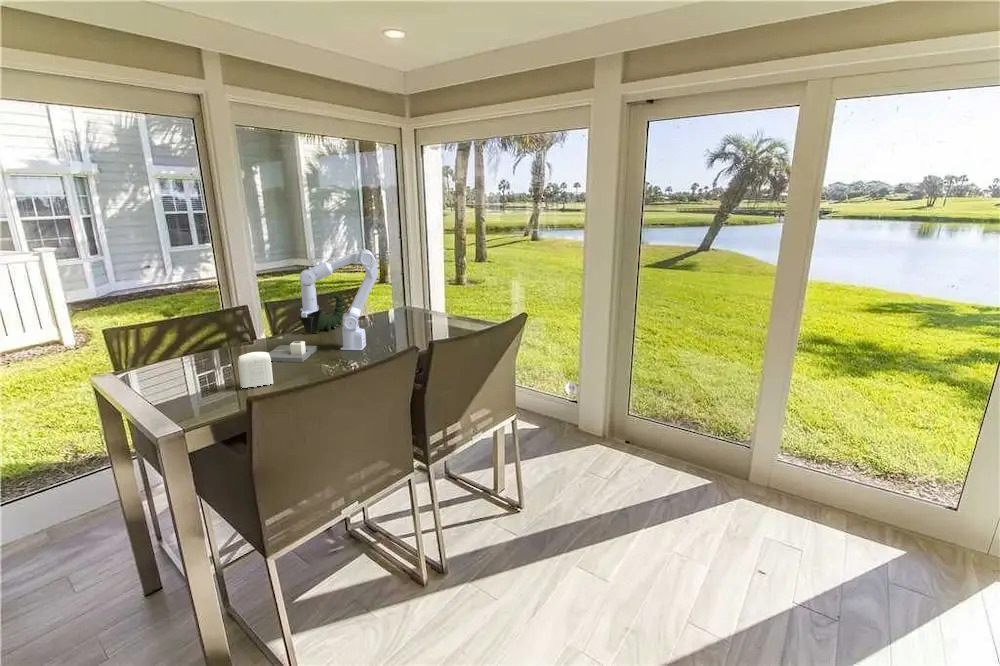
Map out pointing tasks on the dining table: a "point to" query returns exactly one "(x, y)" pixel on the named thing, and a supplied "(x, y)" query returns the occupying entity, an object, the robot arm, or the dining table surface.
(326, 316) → the toy figurine
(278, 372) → the dining table surface
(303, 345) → the block
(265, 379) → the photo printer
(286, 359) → the socket plate
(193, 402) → the dining table surface
